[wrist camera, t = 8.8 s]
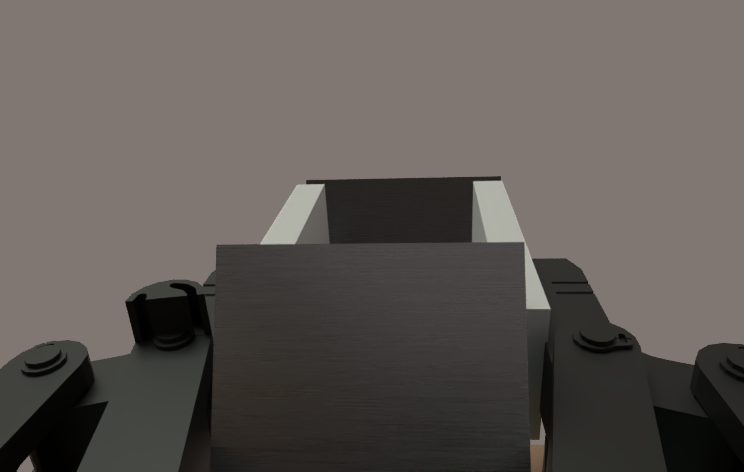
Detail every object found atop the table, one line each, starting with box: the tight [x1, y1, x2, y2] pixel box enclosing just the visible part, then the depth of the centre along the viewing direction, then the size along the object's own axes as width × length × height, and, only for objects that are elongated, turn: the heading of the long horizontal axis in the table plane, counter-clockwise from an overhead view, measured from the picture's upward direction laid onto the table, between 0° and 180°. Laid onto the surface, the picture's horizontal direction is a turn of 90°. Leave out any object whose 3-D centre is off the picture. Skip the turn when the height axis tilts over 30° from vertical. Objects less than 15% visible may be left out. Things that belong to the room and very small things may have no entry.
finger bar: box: [210, 176, 531, 472], centre depth 15 cm, size 6×15×6 cm, turn 174°
